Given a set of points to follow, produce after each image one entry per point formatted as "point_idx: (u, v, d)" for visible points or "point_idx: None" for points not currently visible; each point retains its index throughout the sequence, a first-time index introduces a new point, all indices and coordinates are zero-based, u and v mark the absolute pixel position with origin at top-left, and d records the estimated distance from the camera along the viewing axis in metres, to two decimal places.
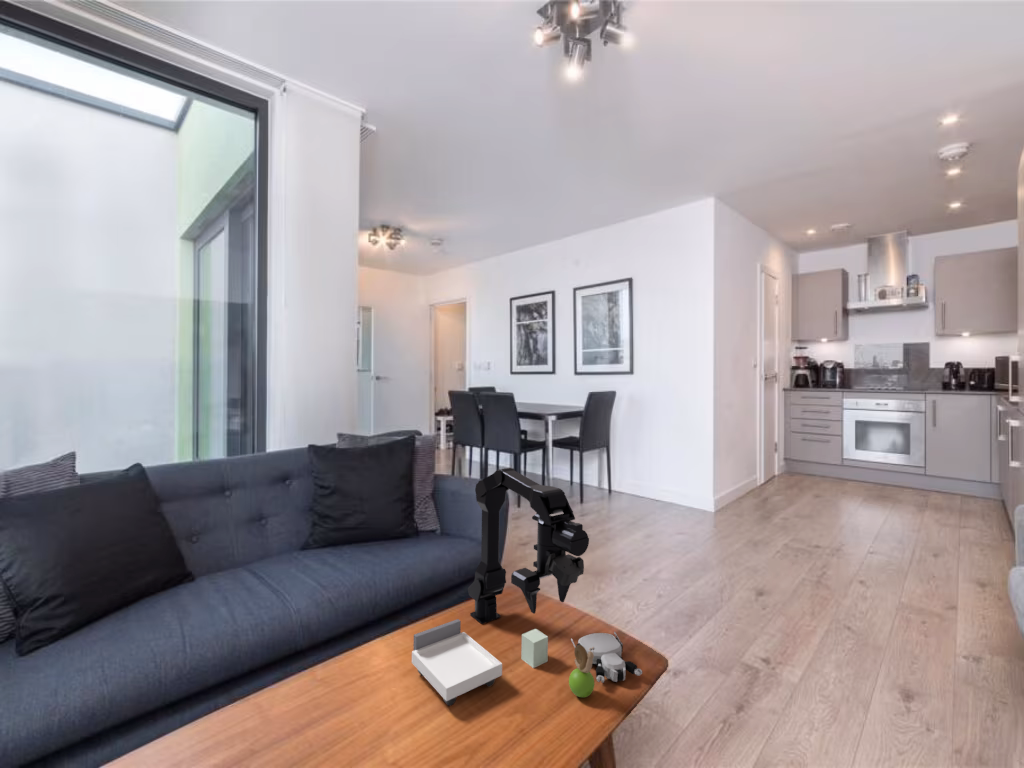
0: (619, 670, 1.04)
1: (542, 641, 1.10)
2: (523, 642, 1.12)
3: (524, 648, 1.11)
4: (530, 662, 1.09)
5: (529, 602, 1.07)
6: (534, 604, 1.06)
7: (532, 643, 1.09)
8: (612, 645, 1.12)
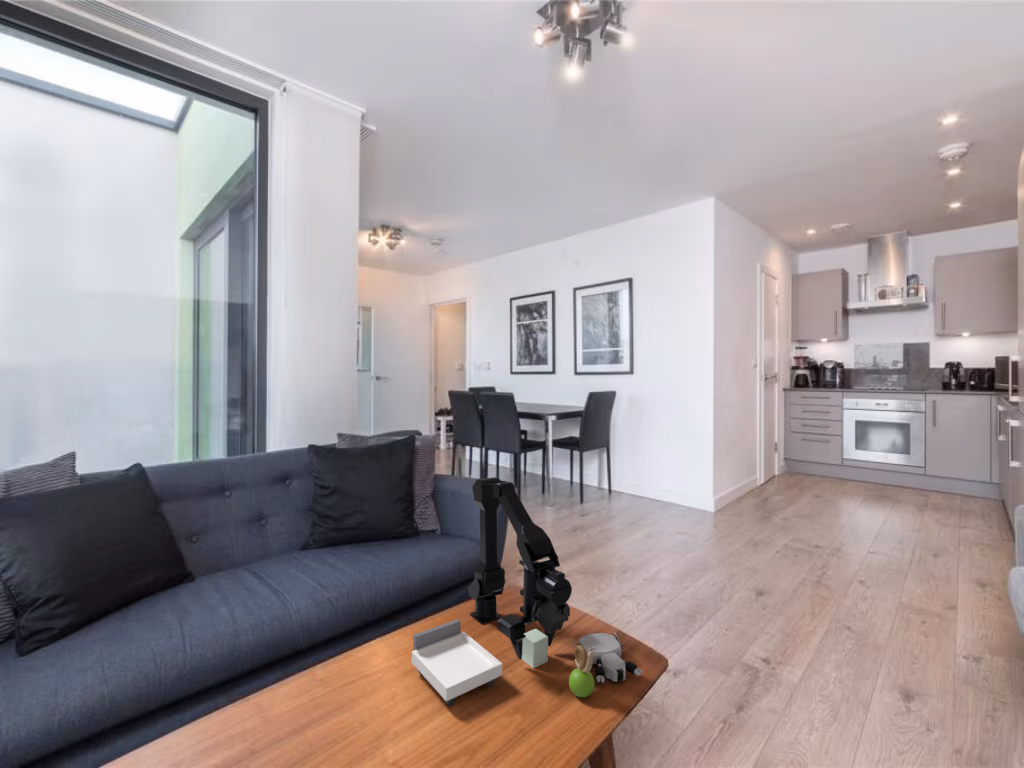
0: (619, 670, 1.04)
1: (542, 641, 1.10)
2: (523, 642, 1.12)
3: (524, 648, 1.11)
4: (530, 662, 1.09)
5: (515, 648, 1.09)
6: (520, 650, 1.08)
7: (532, 643, 1.09)
8: (612, 645, 1.12)
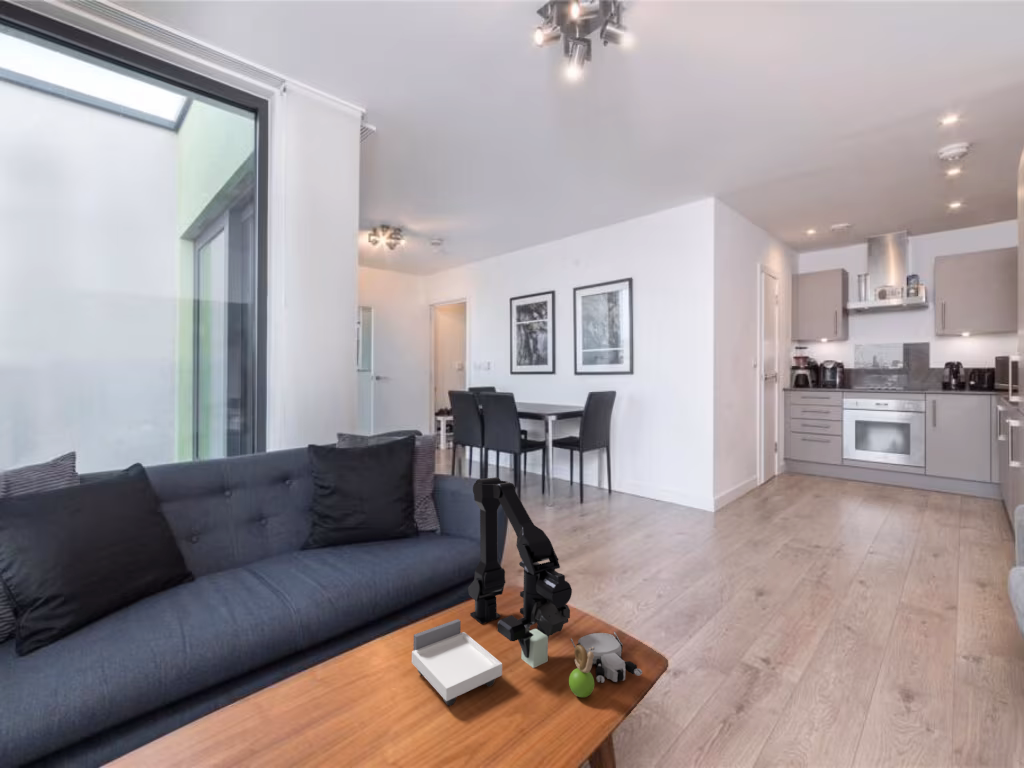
0: (619, 670, 1.04)
1: (542, 641, 1.10)
2: None
3: None
4: (530, 662, 1.09)
5: (523, 647, 1.10)
6: (527, 649, 1.09)
7: (532, 643, 1.09)
8: (612, 645, 1.12)
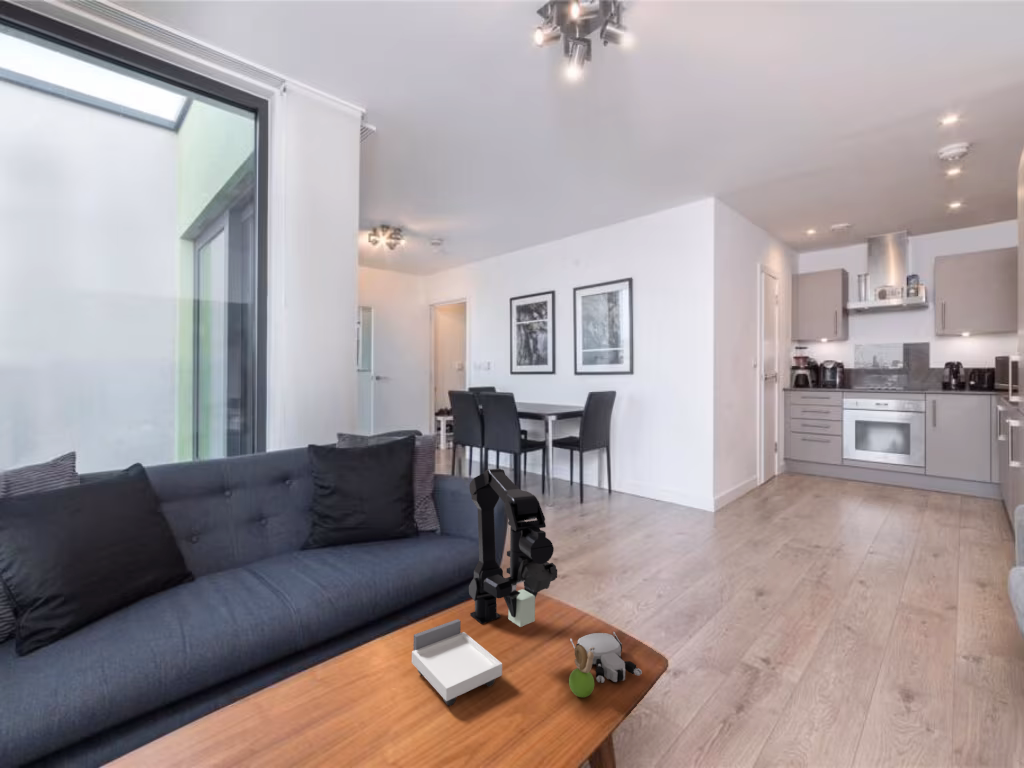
0: (619, 670, 1.04)
1: (529, 600, 1.09)
2: None
3: None
4: (517, 621, 1.08)
5: (509, 606, 1.08)
6: (514, 608, 1.08)
7: (519, 602, 1.07)
8: (612, 645, 1.12)
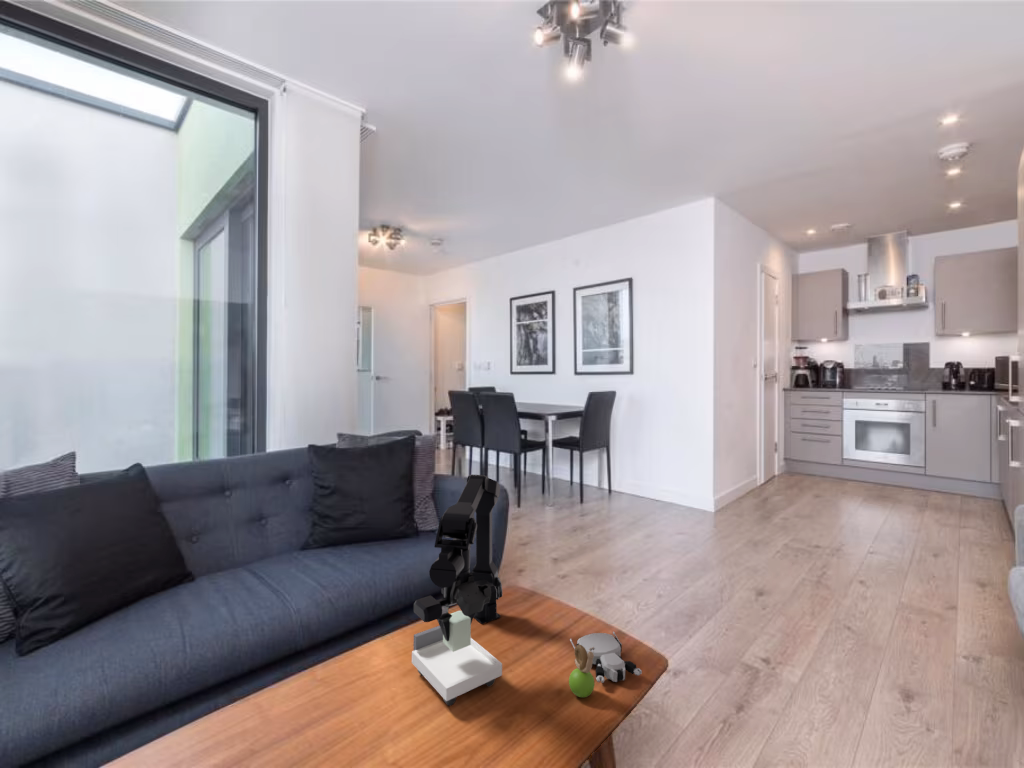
0: (619, 670, 1.04)
1: (463, 623, 1.02)
2: None
3: None
4: (450, 645, 1.02)
5: (442, 629, 1.02)
6: (447, 631, 1.02)
7: (452, 625, 1.01)
8: (611, 645, 1.12)
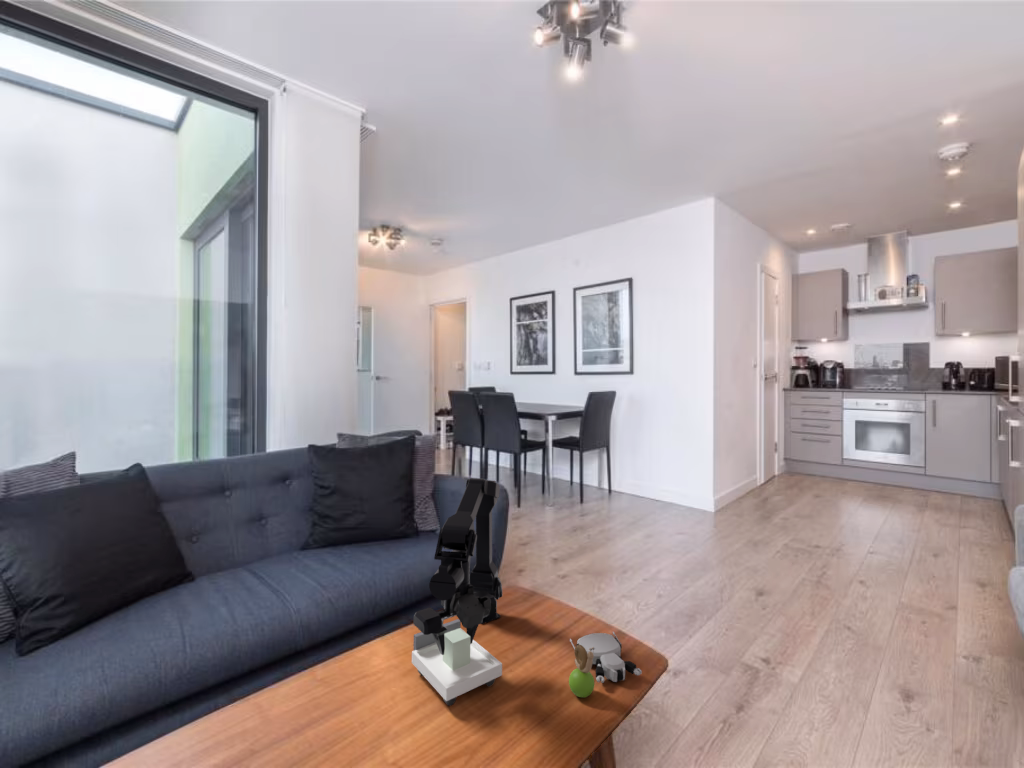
0: (619, 670, 1.04)
1: (463, 641, 1.02)
2: None
3: (445, 649, 1.04)
4: (450, 664, 1.02)
5: (437, 643, 1.02)
6: (442, 645, 1.01)
7: (451, 643, 1.01)
8: (611, 645, 1.12)
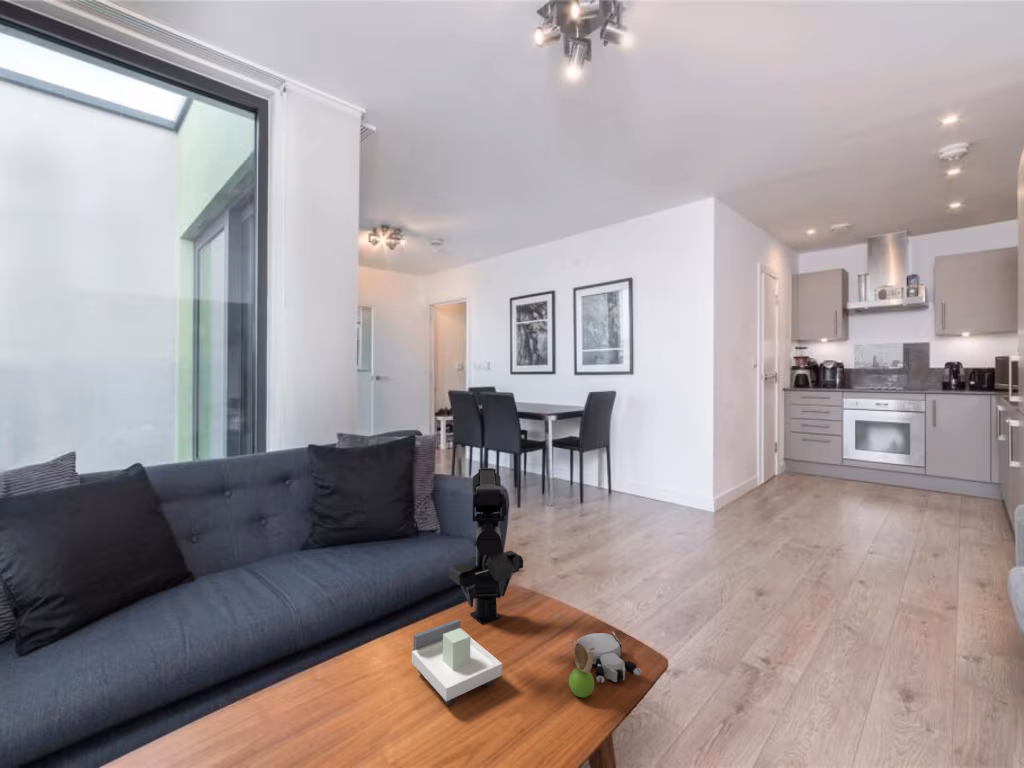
0: (619, 670, 1.04)
1: (463, 641, 1.02)
2: (444, 642, 1.04)
3: (445, 649, 1.04)
4: (450, 664, 1.02)
5: (467, 596, 1.12)
6: (471, 598, 1.11)
7: (451, 643, 1.01)
8: (611, 645, 1.12)
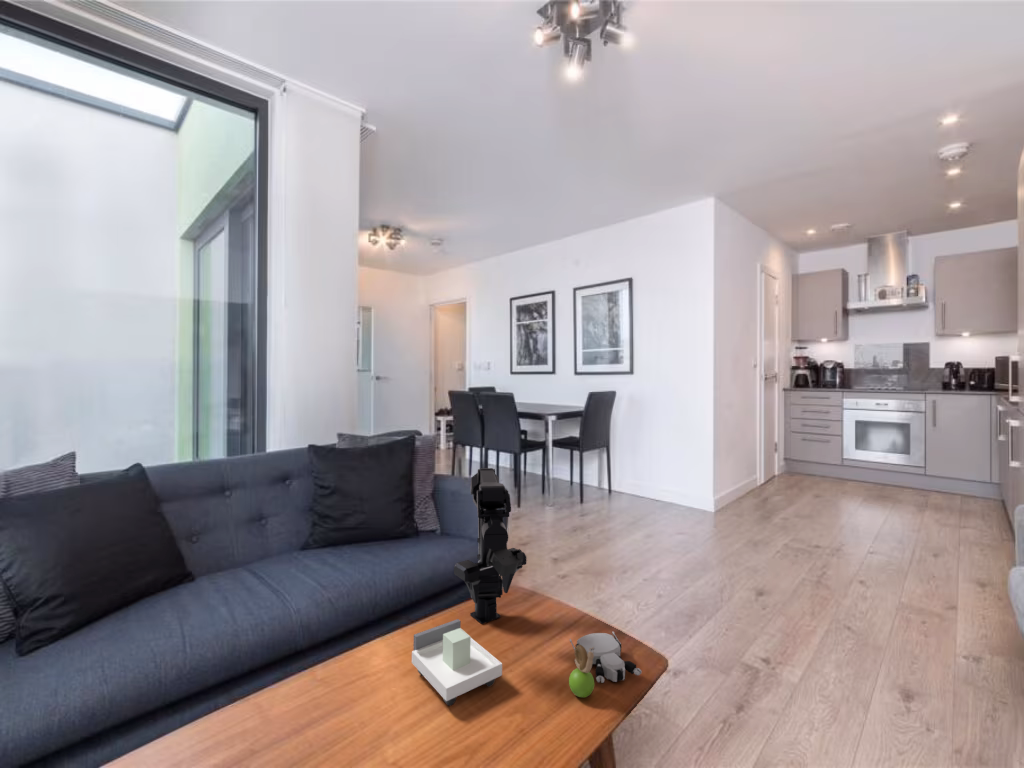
0: (619, 670, 1.04)
1: (463, 641, 1.02)
2: (444, 642, 1.04)
3: (445, 649, 1.04)
4: (450, 664, 1.02)
5: (471, 592, 1.13)
6: (476, 594, 1.12)
7: (451, 643, 1.01)
8: (611, 645, 1.12)
